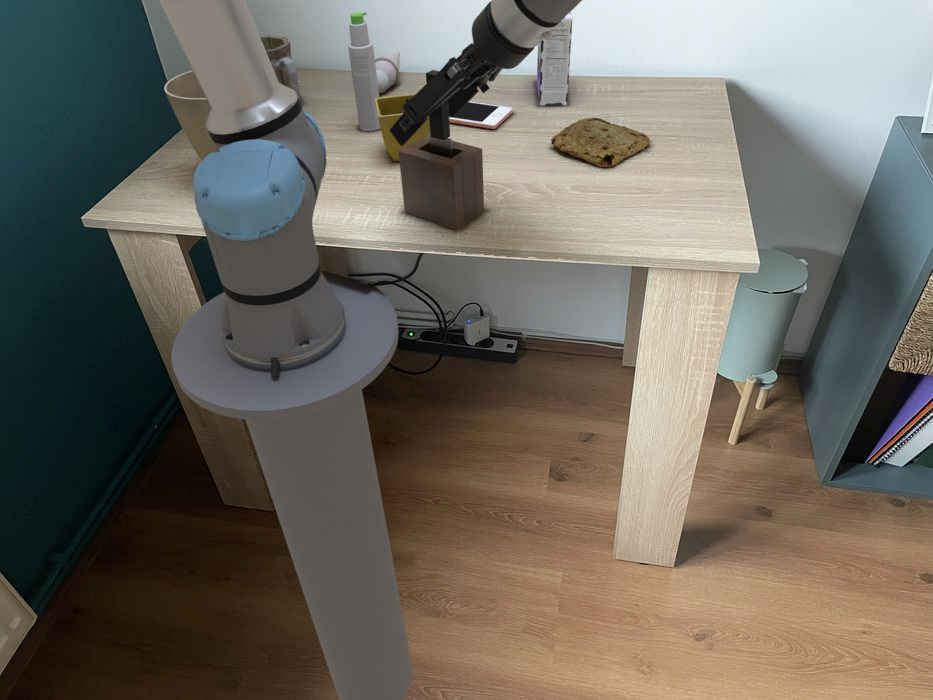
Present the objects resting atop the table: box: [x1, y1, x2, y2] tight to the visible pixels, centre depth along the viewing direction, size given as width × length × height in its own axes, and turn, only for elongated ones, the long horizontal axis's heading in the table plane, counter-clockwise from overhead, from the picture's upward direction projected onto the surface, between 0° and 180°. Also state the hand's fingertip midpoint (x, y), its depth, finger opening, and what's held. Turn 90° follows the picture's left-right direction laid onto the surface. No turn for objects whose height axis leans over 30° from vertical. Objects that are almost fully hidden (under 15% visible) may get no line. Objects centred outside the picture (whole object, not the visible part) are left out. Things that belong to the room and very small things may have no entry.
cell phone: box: [449, 101, 513, 130], centre depth 139 cm, size 9×18×1 cm, turn 64°
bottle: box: [347, 11, 381, 132], centre depth 131 cm, size 4×4×20 cm
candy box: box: [536, 11, 573, 107], centre depth 141 cm, size 14×6×16 cm, turn 178°
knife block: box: [398, 134, 485, 231], centre depth 108 cm, size 10×7×10 cm
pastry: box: [550, 117, 651, 168], centre depth 126 cm, size 17×17×3 cm
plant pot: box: [163, 69, 218, 162], centre depth 119 cm, size 15×15×16 cm
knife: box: [425, 69, 453, 159], centre depth 104 cm, size 4×2×20 cm, turn 54°
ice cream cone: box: [375, 51, 401, 94], centre depth 152 cm, size 6×6×15 cm
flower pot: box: [374, 93, 430, 162], centre depth 125 cm, size 9×9×9 cm
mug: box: [260, 35, 303, 106], centre depth 143 cm, size 16×11×12 cm
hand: (423, 122), depth 104 cm, fingers open, 11 cm apart
